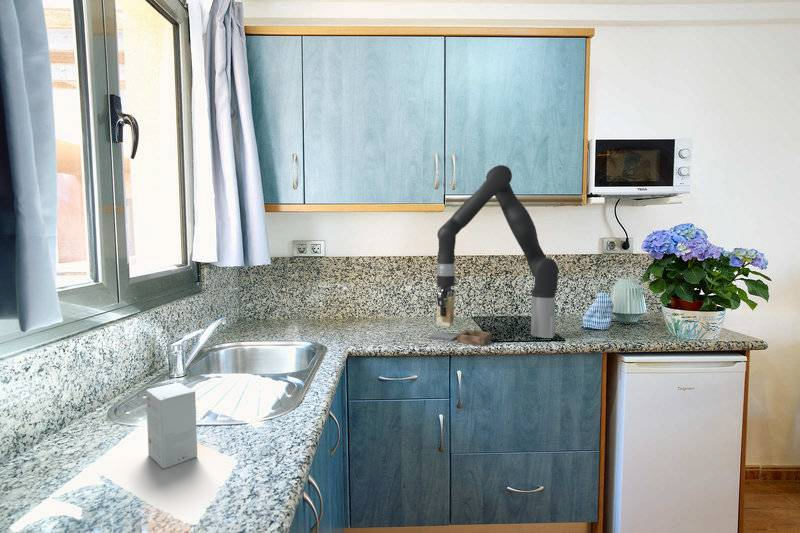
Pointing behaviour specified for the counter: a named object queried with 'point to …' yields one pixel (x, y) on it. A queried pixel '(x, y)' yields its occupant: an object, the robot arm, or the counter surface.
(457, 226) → the robot arm
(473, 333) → the walnut holder
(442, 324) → the skincare box
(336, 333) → the counter surface
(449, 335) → the grey flat plate
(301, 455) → the counter surface
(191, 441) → the small box
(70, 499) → the counter surface
